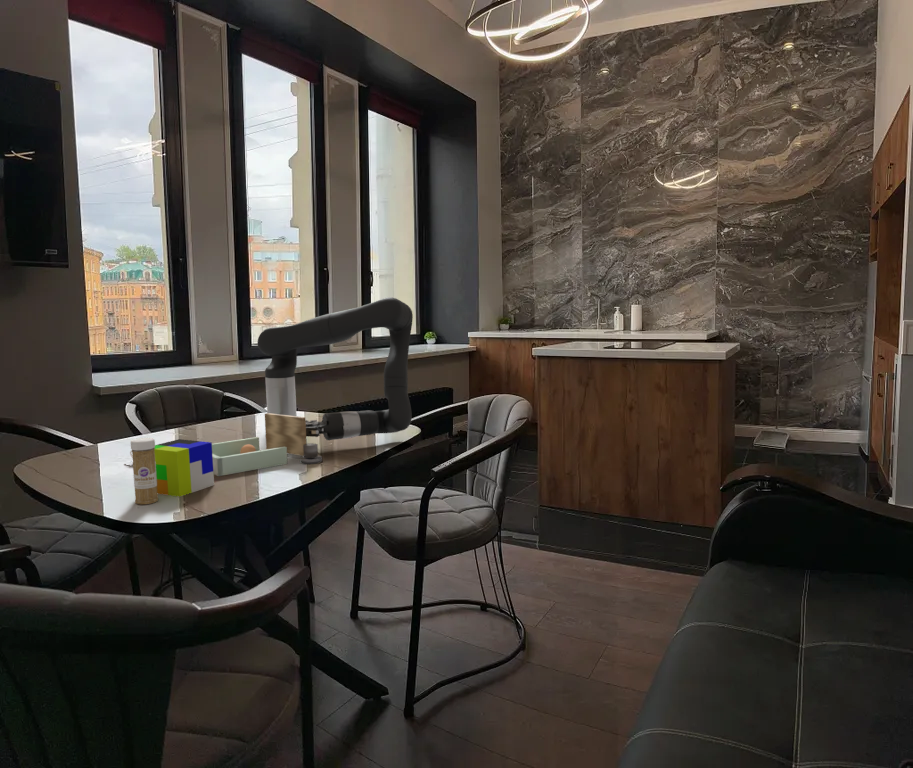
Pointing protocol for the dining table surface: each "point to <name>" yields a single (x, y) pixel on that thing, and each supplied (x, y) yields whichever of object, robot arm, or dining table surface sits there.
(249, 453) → the tray
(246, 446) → the ball
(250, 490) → the dining table surface
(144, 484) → the sprinkles bottle
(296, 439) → the tan wooden flat panel
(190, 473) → the puzzle toy
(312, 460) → the pivot disc
